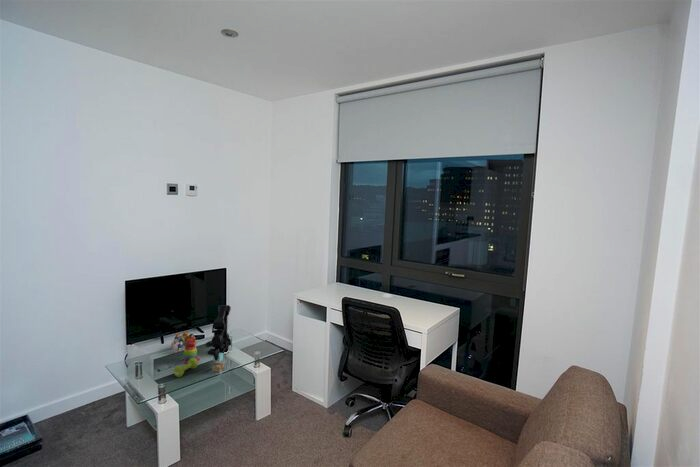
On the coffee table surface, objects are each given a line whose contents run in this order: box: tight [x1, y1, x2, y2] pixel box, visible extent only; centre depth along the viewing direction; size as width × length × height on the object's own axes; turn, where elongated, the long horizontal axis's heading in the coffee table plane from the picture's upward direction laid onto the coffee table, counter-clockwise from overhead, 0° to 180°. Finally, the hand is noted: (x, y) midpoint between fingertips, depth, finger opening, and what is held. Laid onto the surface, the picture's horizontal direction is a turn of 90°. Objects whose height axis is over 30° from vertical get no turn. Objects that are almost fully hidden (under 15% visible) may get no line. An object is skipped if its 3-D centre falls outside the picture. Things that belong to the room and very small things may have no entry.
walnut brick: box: [211, 361, 225, 373], centre depth 253 cm, size 6×6×4 cm
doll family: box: [170, 331, 196, 355], centre depth 281 cm, size 21×10×13 cm, turn 150°
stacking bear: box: [183, 337, 201, 365], centre depth 263 cm, size 11×10×18 cm
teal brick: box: [212, 353, 224, 363], centre depth 252 cm, size 5×5×4 cm
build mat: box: [207, 368, 223, 375], centre depth 254 cm, size 10×10×1 cm
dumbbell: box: [172, 358, 199, 378], centre depth 249 cm, size 16×8×7 cm, turn 158°
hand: (218, 358), depth 253 cm, fingers closed on teal brick, 5 cm apart
